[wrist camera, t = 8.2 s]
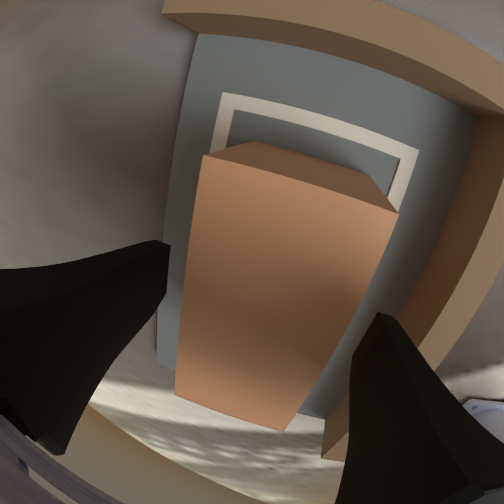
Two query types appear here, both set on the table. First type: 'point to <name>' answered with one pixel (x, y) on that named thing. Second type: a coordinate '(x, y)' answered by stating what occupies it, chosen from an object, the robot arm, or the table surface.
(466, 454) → the robot arm
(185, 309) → the terracotta block
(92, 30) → the table surface
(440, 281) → the arena
